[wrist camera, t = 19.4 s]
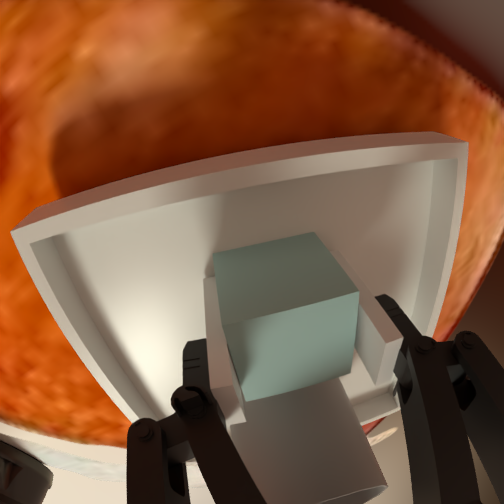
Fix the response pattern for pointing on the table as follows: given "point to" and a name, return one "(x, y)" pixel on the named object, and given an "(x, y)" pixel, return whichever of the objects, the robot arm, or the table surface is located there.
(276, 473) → the cup
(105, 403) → the table surface
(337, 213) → the shallow white dish
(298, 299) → the block
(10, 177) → the table surface
